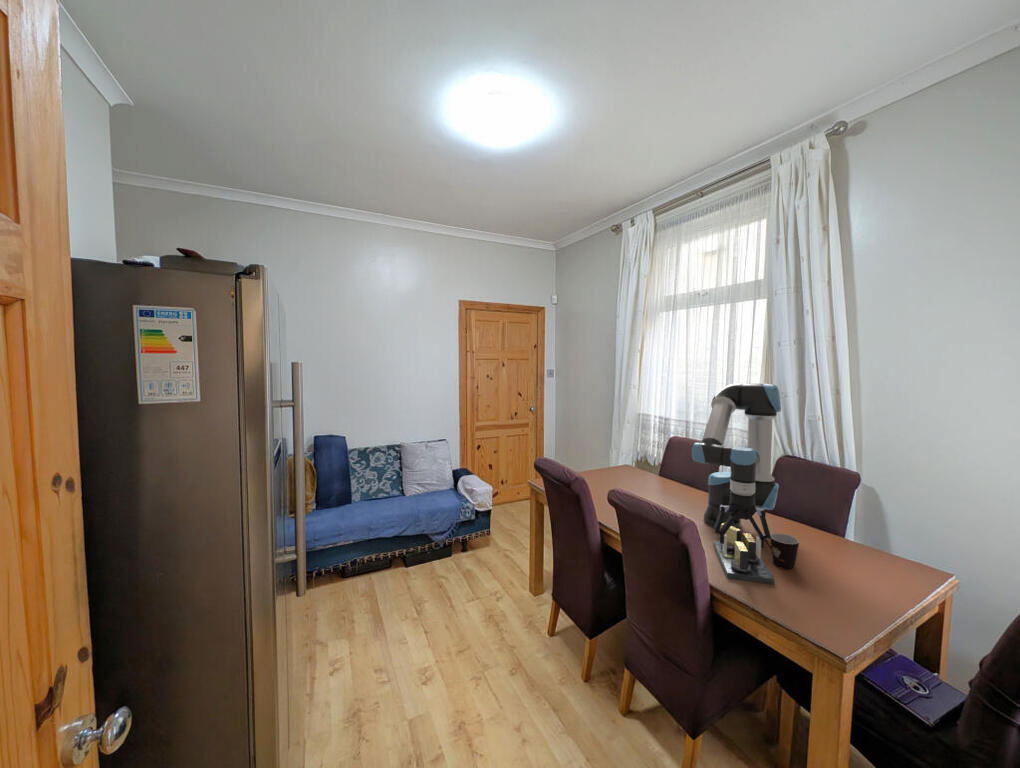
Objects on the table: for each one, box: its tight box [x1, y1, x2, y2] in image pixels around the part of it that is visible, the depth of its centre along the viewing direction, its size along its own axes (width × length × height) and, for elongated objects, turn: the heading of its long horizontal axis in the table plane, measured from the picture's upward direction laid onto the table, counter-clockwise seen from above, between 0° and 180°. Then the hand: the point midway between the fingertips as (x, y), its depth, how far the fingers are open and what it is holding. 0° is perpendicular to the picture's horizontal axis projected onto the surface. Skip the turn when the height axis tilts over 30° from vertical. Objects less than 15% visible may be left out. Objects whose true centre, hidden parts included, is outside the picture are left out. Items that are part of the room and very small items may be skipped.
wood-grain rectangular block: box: [742, 532, 759, 563], centre depth 140 cm, size 7×6×8 cm
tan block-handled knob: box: [720, 523, 743, 551], centre depth 149 cm, size 7×6×8 cm
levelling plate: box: [713, 540, 775, 585], centre depth 141 cm, size 24×14×3 cm, turn 162°
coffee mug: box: [764, 532, 800, 571], centre depth 141 cm, size 12×9×10 cm
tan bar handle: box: [731, 541, 751, 573], centre depth 134 cm, size 7×6×8 cm
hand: (741, 554), depth 134 cm, fingers open, 10 cm apart
